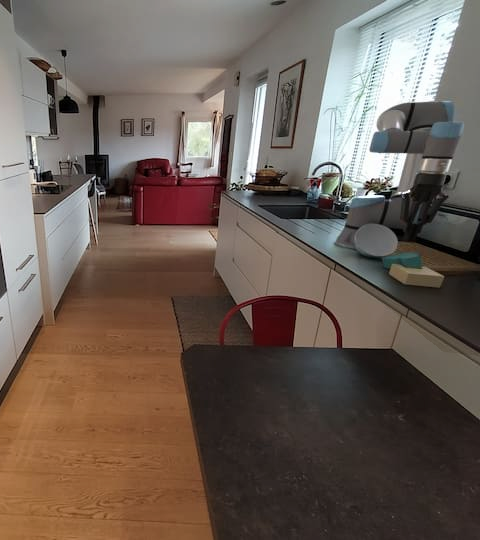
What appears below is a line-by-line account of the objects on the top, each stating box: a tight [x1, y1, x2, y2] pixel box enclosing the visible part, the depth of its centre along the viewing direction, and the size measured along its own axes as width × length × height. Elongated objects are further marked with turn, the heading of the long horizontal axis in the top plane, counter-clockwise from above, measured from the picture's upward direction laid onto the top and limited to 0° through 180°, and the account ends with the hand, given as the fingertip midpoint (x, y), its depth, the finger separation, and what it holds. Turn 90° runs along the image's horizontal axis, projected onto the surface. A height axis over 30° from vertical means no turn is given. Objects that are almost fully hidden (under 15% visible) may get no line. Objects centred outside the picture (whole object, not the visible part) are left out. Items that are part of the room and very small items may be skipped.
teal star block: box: [381, 251, 424, 270], centre depth 117 cm, size 11×8×4 cm
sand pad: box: [388, 264, 445, 289], centre depth 110 cm, size 10×10×4 cm
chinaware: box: [354, 224, 399, 259], centre depth 136 cm, size 15×15×8 cm
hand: (408, 241), depth 116 cm, fingers closed
